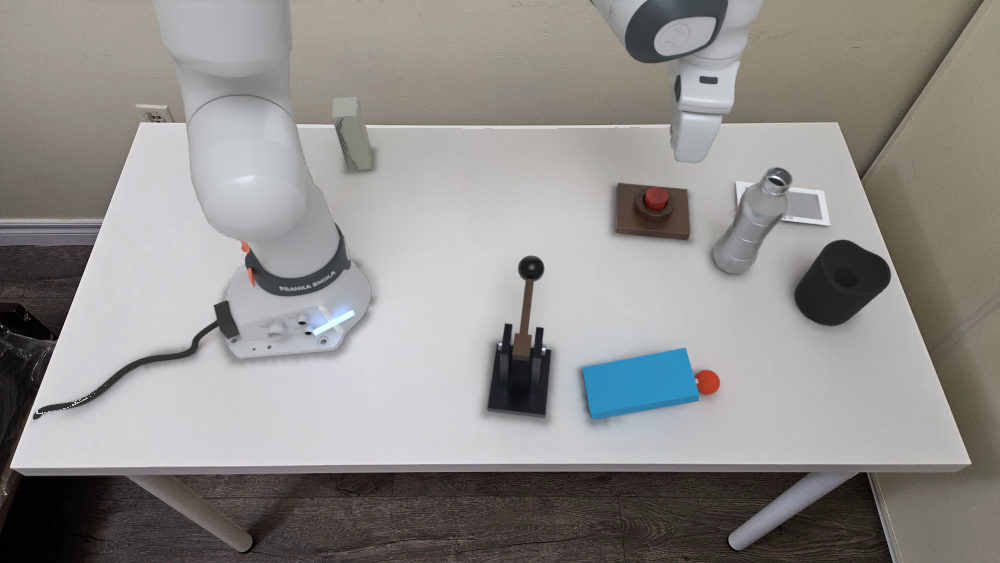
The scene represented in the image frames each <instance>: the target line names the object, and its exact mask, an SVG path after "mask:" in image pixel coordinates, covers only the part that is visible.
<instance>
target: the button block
mask: <svg viewBox="0 0 1000 563" xmlns="http://www.w3.org/2000/svg"><path fill="white" fill-rule="evenodd" d="M652 187H660V188H662V189H664V190H665V191H666V192H667V194H668V199H667V202H666V205H665V207H664V208H662V209H660V210H653V209H650V208H648V207H647V206H646V205H645V203H644V198H645V195H646V192H647V190H648V189H650V188H652ZM615 190H616V193H615V227H614V228H615V229H614V230H615V232H614V233H615V234H621V235H630V236H639V237H648V238H661V239H672V240H679V241H680V240H681V241H689V238H690V235H691V229H690V228H691V227H690V226H691V225H690V211H689V196H688V194H689V193H688V188H678V187H669V186H668V187H667V186H659V185H648V184H647V185H646V184H637V183H636V184H635V183H625V182H617V185H616V188H615Z"/></svg>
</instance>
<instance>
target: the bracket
mask: <svg viewBox="0 0 1000 563" xmlns="http://www.w3.org/2000/svg"><path fill="white" fill-rule="evenodd" d="M544 331H545V327H541V326H536V327H535V333H534V343H533V347H531V351H530V360H529V361H525V360H516V359H512V352H513V323H506V322H504V325H503V334H502V338H499V339H498V343H496V346H495V347H496V348H495V353H494V354H495V355H494V361H493V367H492V375H491V381H490V388H489V395H488V402H487V408H486V409H487V412H491V413H492V412H493V413H500V414H507V415H516V416H523V417H532V418H539V419H540V418H542V419H545V418H546V413H547V412H546V411H547V401H548V391H549V390H548V389H549V378H550V368H551V358H552V357H551V356H552V349H547V344H546V343H543V342H544Z"/></svg>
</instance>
